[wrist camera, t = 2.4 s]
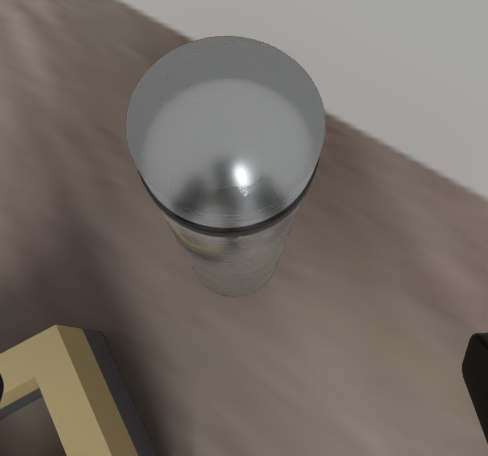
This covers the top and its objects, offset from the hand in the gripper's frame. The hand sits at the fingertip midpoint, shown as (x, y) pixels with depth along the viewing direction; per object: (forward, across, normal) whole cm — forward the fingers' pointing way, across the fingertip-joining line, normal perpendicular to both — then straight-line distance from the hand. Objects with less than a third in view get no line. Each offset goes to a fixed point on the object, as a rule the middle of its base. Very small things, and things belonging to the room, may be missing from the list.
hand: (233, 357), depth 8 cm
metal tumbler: (+11, 0, +5) cm, 12 cm away
